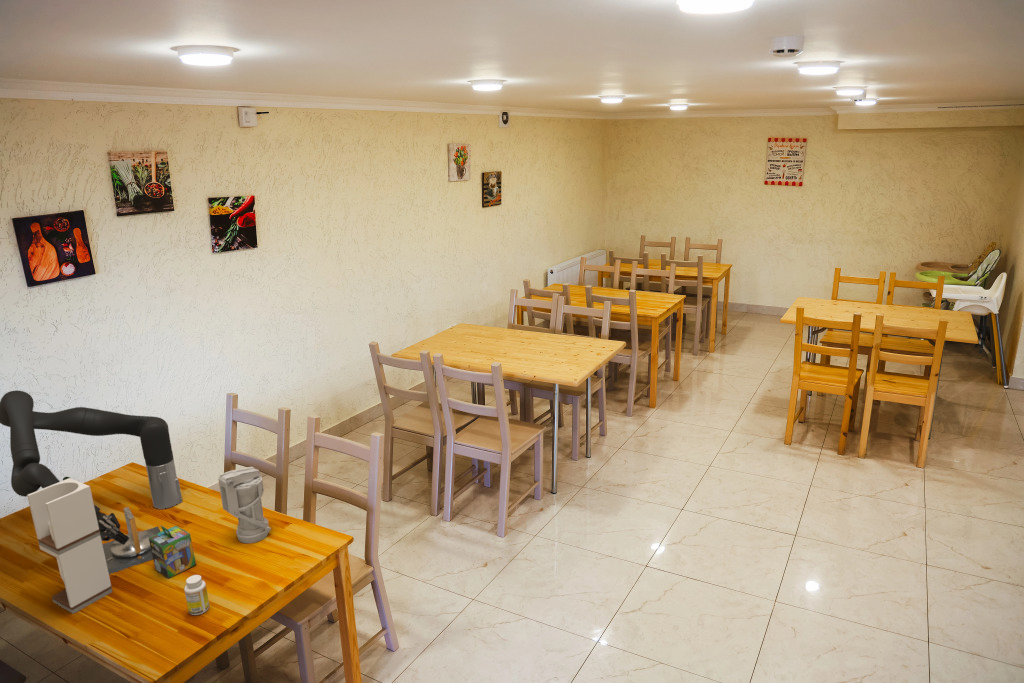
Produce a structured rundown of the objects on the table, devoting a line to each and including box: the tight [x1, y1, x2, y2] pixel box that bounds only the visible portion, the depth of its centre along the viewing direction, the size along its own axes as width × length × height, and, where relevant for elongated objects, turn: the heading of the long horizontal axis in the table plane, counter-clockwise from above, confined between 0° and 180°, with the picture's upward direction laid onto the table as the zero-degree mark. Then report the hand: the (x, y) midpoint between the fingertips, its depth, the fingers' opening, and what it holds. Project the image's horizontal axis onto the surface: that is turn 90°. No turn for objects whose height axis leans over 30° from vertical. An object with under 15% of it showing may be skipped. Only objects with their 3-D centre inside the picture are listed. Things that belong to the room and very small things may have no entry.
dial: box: [111, 506, 155, 557], centre depth 222 cm, size 15×13×14 cm
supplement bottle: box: [183, 574, 210, 616], centre depth 194 cm, size 6×6×10 cm
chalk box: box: [149, 524, 197, 580], centre depth 214 cm, size 9×9×15 cm
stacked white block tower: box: [26, 477, 113, 614], centre depth 198 cm, size 11×11×35 cm
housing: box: [102, 526, 162, 575], centre depth 225 cm, size 18×18×2 cm
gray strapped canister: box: [218, 466, 272, 544], centre depth 228 cm, size 13×10×25 cm
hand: (126, 541), depth 218 cm, fingers closed
